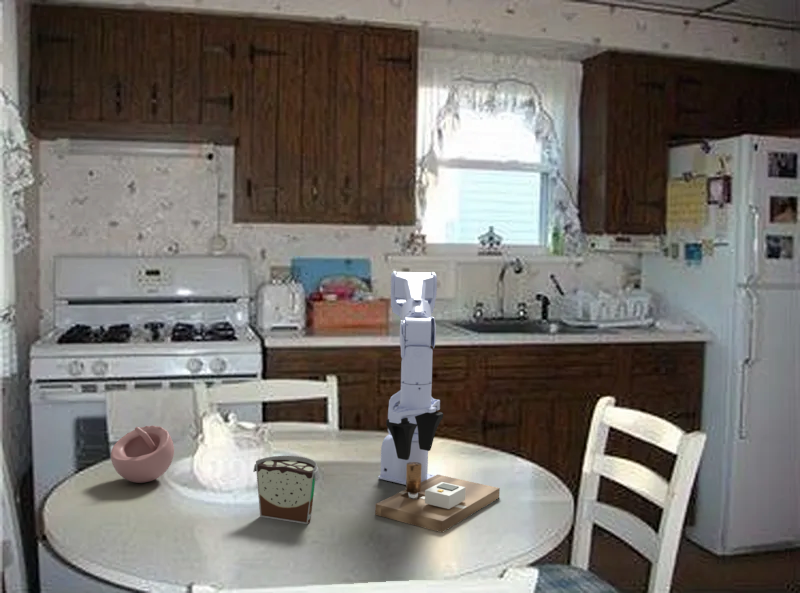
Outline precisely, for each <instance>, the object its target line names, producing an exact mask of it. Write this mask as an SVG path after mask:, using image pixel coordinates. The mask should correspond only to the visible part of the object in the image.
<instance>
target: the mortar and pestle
mask: <svg viewBox="0 0 800 593" xmlns="http://www.w3.org/2000/svg"><path fill="white" fill-rule="evenodd" d="M174 455H175V445H174V441H173V439H172V437H171V435H170V434H169V431H168V430H167V429H165V428H164V427H162V426H158V425H157V426H156V425H150V426H149V425H144V426H142V427H139V426H136V427H135V428H134V429H133V430H132V431H130V432H127V433H126V434H125V435H124V436H122V437H121V438H119V439H118V440H117V441H116V443H114V445H113V447H112V449H111V452H110V460H111V461H110V462H111V464H112V467H113V468H114V470H115V471H116V473H117V474H118V475H119V476H121V478H123V479H124V480H126V481H129V482H132V483H135V484H137V483H139V484H142V483H144V484H145V483H149V482H152V481H155V480H157V479H159V478H160V477H161V476H162V475H164V474H165V473H166V472H167V471H168V469H170V466H171V464H172V463H173V460H174Z"/></svg>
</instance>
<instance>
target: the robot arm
mask: <svg viewBox="0 0 800 593" xmlns="http://www.w3.org/2000/svg"><path fill="white" fill-rule="evenodd" d="M437 288H438V276H437V274H436V272H435V271H431V272H421V271H420V272H418V271H416V272H415V271H414V272H413V271H397V270H393V271H392V272H391V273H390V307H391V312H392V313H393V314H395V315H396V316H397V317H399V318H400V322H399V345H400V357H401V360H400V361H401V362H400V363H401V364H400V365H401V368H400V390H398V391H397V392H396V393H394V394H392V396H390V399H388V410H387V419H386V421H385V423H386V427H387V433H388V434H387V435H386V436H385V437H384V439H383V441H382V444H381V447H380V475H378V477H377V478H378V480H384V481H388V482H391V483H392V482H393V483H396V484H400V485H405V486H406V465H407V463H409V462H418V463H421V464H422V466H421V482H423V481H425V480H427V479H429V478H431V477H433V476H435V475H436V474H435V475H434V474H429V473H428V470H429V469H428V467H429V465H428V464H429V451H431V449H432V445H433V442H434V439H435V435H436V432H437V429H438V427H439V425H440V424H441V422H442V420H443V419H444V413H443V412H442V411H439V410H440V409H441V400H440V399H436V398H434V397H433V396H432V390H433V388H432V386H433V384H432V382H433V351H434V350H433V349H435V346H436V341H437V324H436V319H435V317H434V316H432V314H433V313H434V309H435V306H436V299H437V291H438V289H437Z"/></svg>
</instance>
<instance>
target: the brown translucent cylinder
mask: <svg viewBox="0 0 800 593" xmlns="http://www.w3.org/2000/svg"><path fill="white" fill-rule="evenodd" d="M421 466H422V464H421V463H418V462H409V463H407V465H406V485H405V490H406V491H407V492H408V498H409V499H413V500H418V492H420V491H421Z"/></svg>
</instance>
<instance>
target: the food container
mask: <svg viewBox="0 0 800 593" xmlns="http://www.w3.org/2000/svg"><path fill="white" fill-rule="evenodd" d="M255 472H256V481H257V482H256V483H257V495H258V508H259V517H260V518H266V519H273V520H278V521H279V520H280V521H285V522H291V523H296V524H297V523H298V524H304V525H308V524H310V523H311V520H312V513H313V512H312V511H313V502H314V496H315V495H314V494H315V486H316V481H318V480H319V479H320V470H319V467H318V464H317V462H316V461H315V460H314V459H310V458H308V457H305V456H304V457H303V456H298V455H276V456H274V455H273V456H268V457H264V458H259V459H258V460H256V461H255V464H254V466H253V473H255Z"/></svg>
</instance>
